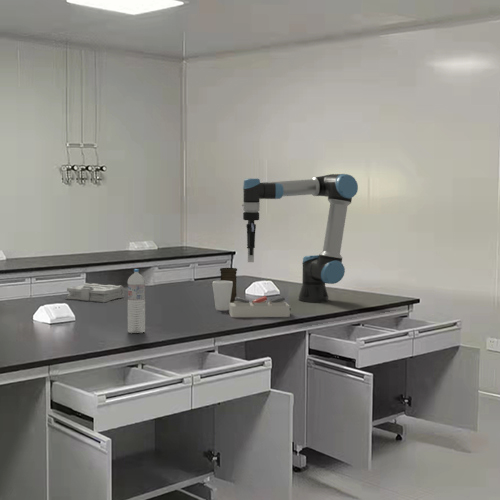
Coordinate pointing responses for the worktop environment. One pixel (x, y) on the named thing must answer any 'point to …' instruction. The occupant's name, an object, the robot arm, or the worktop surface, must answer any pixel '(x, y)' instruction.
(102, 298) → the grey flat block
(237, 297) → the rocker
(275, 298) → the rocker
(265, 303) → the switch panel
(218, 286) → the foam cup
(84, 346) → the worktop surface
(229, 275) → the container
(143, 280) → the water bottle
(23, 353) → the worktop surface
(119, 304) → the worktop surface
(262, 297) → the plate
